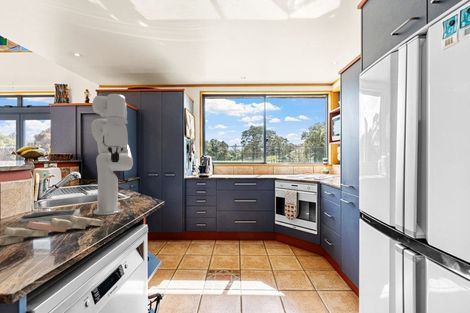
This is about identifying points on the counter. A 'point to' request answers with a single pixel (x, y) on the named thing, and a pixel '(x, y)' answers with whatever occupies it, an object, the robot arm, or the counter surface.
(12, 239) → the birch domino
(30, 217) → the picture frame
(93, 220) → the birch domino
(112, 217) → the counter surface
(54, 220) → the birch domino
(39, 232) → the birch domino
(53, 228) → the terracotta domino
